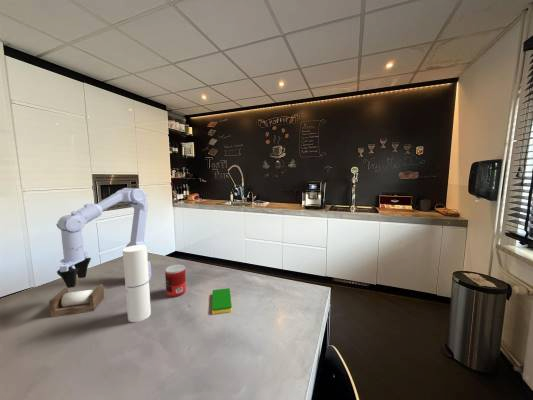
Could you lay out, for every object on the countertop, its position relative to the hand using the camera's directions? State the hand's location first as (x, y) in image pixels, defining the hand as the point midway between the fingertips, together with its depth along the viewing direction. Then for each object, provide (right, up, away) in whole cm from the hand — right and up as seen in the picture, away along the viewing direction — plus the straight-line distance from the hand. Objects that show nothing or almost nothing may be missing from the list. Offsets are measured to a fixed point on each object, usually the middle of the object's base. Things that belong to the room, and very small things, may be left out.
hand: (77, 282), depth 83 cm
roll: (0, -6, +1) cm, 6 cm away
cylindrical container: (+26, -11, -4) cm, 29 cm away
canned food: (+33, -9, +11) cm, 36 cm away
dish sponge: (+54, -10, +4) cm, 55 cm away
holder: (0, -10, +1) cm, 10 cm away
